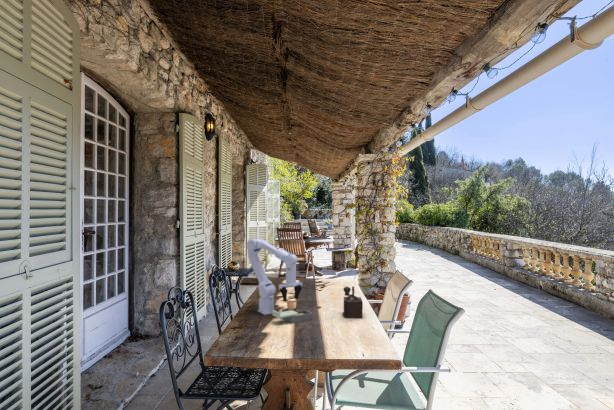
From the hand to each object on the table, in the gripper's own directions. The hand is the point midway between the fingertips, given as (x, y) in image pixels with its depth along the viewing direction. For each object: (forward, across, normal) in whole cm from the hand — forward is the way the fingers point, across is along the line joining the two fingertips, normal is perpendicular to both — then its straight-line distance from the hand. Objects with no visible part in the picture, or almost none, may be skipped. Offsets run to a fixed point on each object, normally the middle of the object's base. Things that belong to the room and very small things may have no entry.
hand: (290, 299), depth 200 cm
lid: (+5, -8, -8) cm, 13 cm away
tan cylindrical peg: (+8, 0, 0) cm, 8 cm away
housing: (+9, 0, -4) cm, 10 cm away
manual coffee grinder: (+9, +29, -20) cm, 36 cm away
